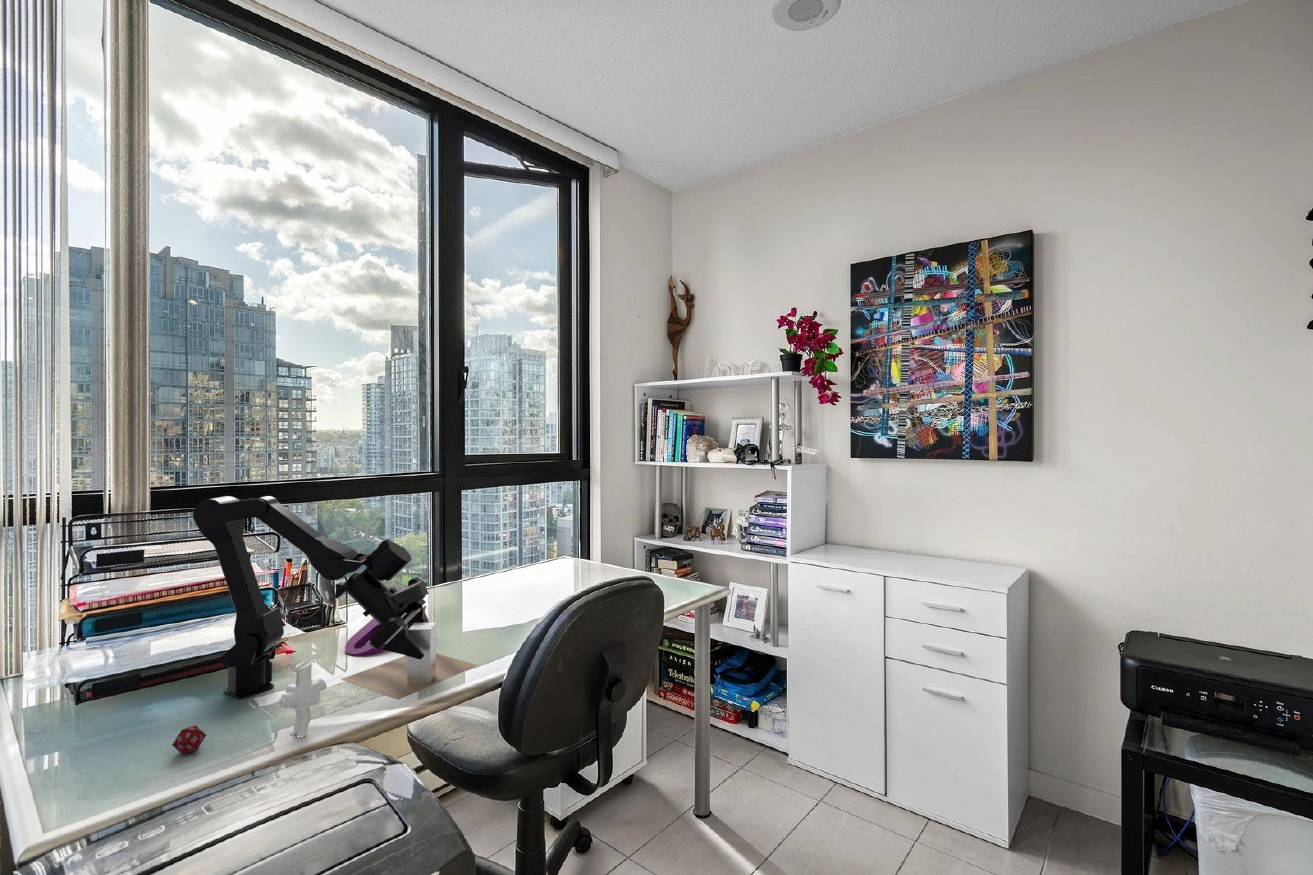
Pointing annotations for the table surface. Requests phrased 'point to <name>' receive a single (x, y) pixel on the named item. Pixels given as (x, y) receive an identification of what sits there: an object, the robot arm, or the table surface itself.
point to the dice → (189, 740)
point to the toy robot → (302, 696)
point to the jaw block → (426, 641)
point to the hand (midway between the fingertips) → (428, 649)
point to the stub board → (404, 676)
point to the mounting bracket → (365, 640)
